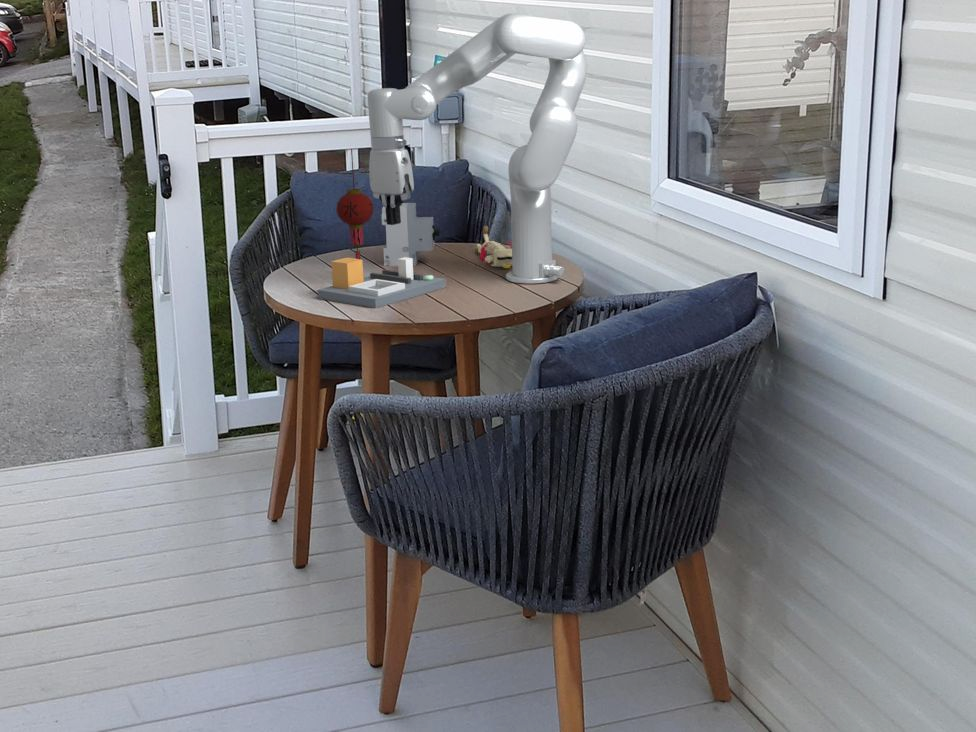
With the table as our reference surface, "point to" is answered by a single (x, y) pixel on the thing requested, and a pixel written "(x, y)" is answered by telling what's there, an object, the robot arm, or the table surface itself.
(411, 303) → the table surface
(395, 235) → the circuit breaker
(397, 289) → the panel
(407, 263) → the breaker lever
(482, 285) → the table surface
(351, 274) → the lockout cap
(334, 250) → the table surface
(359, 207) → the lantern
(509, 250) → the cat figure
